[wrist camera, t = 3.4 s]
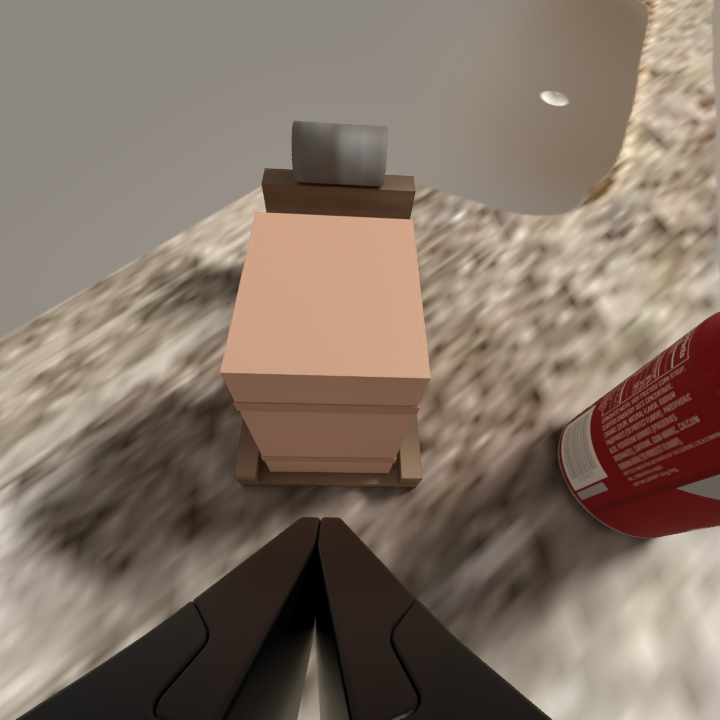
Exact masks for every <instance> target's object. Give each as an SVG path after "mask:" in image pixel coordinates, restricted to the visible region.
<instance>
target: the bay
mask: <svg viewBox="0 0 720 720" xmlns="http://www.w3.org/2000/svg"><path fill="white" fill-rule="evenodd" d="M387 135H388V134H387V127H385V126H368V125H352V124H334V123H318V122H301V121H294V122H293V126H292V165H293V170H287V169H269V168H265V170H264V175H263V180H262V189H263V195H264V200H265V206H266V212H267V213H285V214H306V215H326V216H347V217H368V218H389V219H410V216H411V211H412V206H413V201H414V196H415V184H414V177H413V176H399V175H385V170H386V160H387V139H388V136H387ZM234 477H235V478H236V479H237V480H238V481H239V483H240V484H241V485H265V486H342V487H416V486H417V485H418V484H419V482H420V481H421V480H422V468H421V456H420V445H419V433H418V422H417V415H414V417H413V419H412V422H411V424H410V426H409V428H408V431H407V433H406V435H405V437H404V440H403V442H402V444H401V446H400V449H399V451H398V453H397V455H396V461H395V463H393V465H392V467H391V469H390V471H389V473H339V472H271V471H270V470H269V468H268V466H267V464H266V462H265V461H263V460H262V458H261V452H260V450H259V448H258V447H257V445H256V443H255V441H254V439H253V437H252V435H251V433H250V431H249V429H248V427H247V425H246V423H245V421H244V419H243V425H242V431H241V437H240V442H239V448H238V454H237V460H236V466H235V472H234Z"/></svg>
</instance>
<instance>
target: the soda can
mask: <svg viewBox="0 0 720 720" xmlns="http://www.w3.org/2000/svg"><path fill="white" fill-rule="evenodd" d="M558 462H559V467H560V470H561V473H562V476H563V478H564V481H565V483H566V485H567V487H568V488H569V490H570V492H571V493H572V495H573V496H574V497H575V499H576V500H577V501H578V503H579V504H580V505H581V506H582V507H583V508H584V509H585V510H586V511H587V512H588V513H589V514H590V515H591V516H593V517H594V518H595V519H596V520H598V521H599V522H601V523H602V524H603V525H605V526H607V527H609V528H610V529H612V530H615V531H617V532H619V533H622V534H625V535H628V536H632V537H637V538H656V537H662V536H667V535H673V534H678V533H683V532H689V531H694V530H700V529H705V528H710V527H716V526H720V312H718V313H715V314H714V315H712V316H711V317H709V318H707V319H706V320H705V321H703V322H702V323H701V324H699V325H698V326H697V327H695V328H694V329H693V330H691V331H690V332H689V333H687V334H686V335H685V336H683V337H682V338H681V339H679V340H678V341H677V342H675V343H674V344H673V345H671V346H670V347H669V348H667V349H666V350H665V351H663V352H662V353H661V354H659V355H658V356H657V357H655V358H654V359H653V360H651V361H650V362H649V363H647V364H646V365H644V366H643V367H642V368H640V369H639V370H638V371H636V372H635V373H634V374H632V375H631V376H630V377H628V378H627V379H626V380H624V381H623V382H622V383H620V384H619V385H618V386H616V387H615V388H614V389H612V390H611V391H610V392H608V393H607V394H606V395H604V396H603V397H602V398H600V399H599V400H598V401H596V402H595V403H594V404H592V405H591V406H590V407H588V408H587V409H586V410H584V411H583V412H582V413H580V414H579V415H577V416H576V417H575V418H573V419H572V420H571V421H570V422H569V423H568V424H567V425H566V426H565V428H564V429H563V431H562V433H561V436H560V438H559V443H558Z"/></svg>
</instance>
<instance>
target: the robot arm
mask: <svg viewBox="0 0 720 720" xmlns="http://www.w3.org/2000/svg"><path fill="white" fill-rule="evenodd" d="M315 620H316V653H317V670H318V687H319V704H320V720H552V719H551V718H550V717H548V716H547V715H546V714H545V713H544V712H542V711H541V710H540V709H539V708H538V707H537V706H535V705H534V704H533V703H532V702H531V701H529V700H528V699H527V698H526V697H525V696H524V695H522V694H521V693H520V692H519V691H518V690H516V689H515V688H514V687H513V686H512V685H510V684H509V683H508V682H507V681H506V680H505V679H503V678H502V677H501V676H500V675H499V674H497V673H496V672H495V671H494V670H493V669H492V668H490V667H489V666H488V665H487V664H486V663H484V662H483V661H482V660H481V659H480V658H479V657H478V656H476V655H475V654H474V653H473V652H472V651H471V650H470V649H468V648H467V647H466V646H465V645H464V644H463V643H462V642H461V641H459V640H458V639H457V638H456V637H455V636H454V635H453V634H452V633H451V632H450V631H449V630H448V629H447V628H446V627H445V626H444V625H443V624H442V623H441V622H440V621H439V620H438V619H437V618H436V617H435V616H433V615H432V614H431V612H430V611H429V610H428V609H427V608H426V607H425V606H424V605H423V604H422V603H421V602H420V601H417V599H416V598H415V597H414V596H413V595H412V593H411V592H410V591H409V590H408V589H407V588H406V587H405V586H404V585H403V584H402V583H401V582H400V581H399V580H398V579H397V578H396V577H395V576H394V574H393V573H392V572H391V571H390V570H389V569H388V568H387V567H386V566H385V565H384V564H383V563H382V562H381V561H380V560H379V559H378V558H377V557H376V555H375V554H374V553H373V552H372V551H371V550H370V549H369V548H368V547H367V546H366V545H365V544H364V543H363V542H362V541H361V540H360V539H359V537H358V536H357V535H356V534H355V533H354V532H353V531H352V530H351V529H350V528H349V527H348V526H347V525H346V524H345V523H344V522H343V521H342V520H341V519H340V518H329V517H324V518H322V519H321V522H320V519H319V518H317V517H302V518H300V519H299V520H297V521H296V522H295V523H294V524H292V525H291V526H290V527H288V528H287V529H286V530H284V531H283V532H282V533H280V534H279V535H278V536H276V537H275V538H274V539H273V540H271V541H270V542H269V543H267V544H266V545H265V546H263V547H262V548H261V549H259V550H258V551H257V552H256V553H254V554H253V555H252V556H250V557H249V558H248V559H246V560H245V561H244V562H242V563H241V564H240V565H239V566H237V567H236V568H235V569H233V570H232V571H231V572H229V573H228V574H227V575H225V576H224V577H223V578H222V579H220V580H219V581H218V582H216V583H215V584H214V585H212V586H211V587H210V588H208V589H207V590H206V591H205V592H203V593H202V594H201V595H199V596H198V597H197V598H195V599H194V600H193V602H189V603H188V604H186V605H185V606H184V607H182V608H181V609H180V610H178V611H177V612H176V613H174V614H173V615H172V616H170V617H169V618H168V619H166V620H165V621H163V622H162V623H161V624H159V625H158V626H157V627H155V628H154V629H152V630H151V631H150V632H148V633H147V634H146V635H144V636H143V637H141V638H140V639H138V640H137V641H135V642H134V643H132V644H131V645H129V646H128V647H126V648H125V649H123V650H122V651H120V652H119V653H117V654H116V655H114V656H113V657H111V658H110V659H108V660H107V661H105V662H104V663H102V664H101V665H99V666H98V667H96V668H95V669H93V670H92V671H90V672H89V673H87V674H85V675H84V676H82V677H81V678H79V679H78V680H76V681H75V682H73V683H72V684H70V685H68V686H67V687H65V688H64V689H62V690H61V691H59V692H58V693H56V694H54V695H53V696H51V697H50V698H48V699H47V700H45V701H44V702H42V703H41V704H39V705H37V706H36V707H34V708H33V709H31V710H30V711H28V712H27V713H25V714H23V715H22V716H20V717H19V718H17V719H16V720H297V717H298V712H299V707H300V702H301V697H302V692H303V687H304V682H305V677H306V672H307V667H308V662H309V657H310V652H311V647H312V642H313V636H314V630H315Z"/></svg>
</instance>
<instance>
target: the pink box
mask: <svg viewBox="0 0 720 720" xmlns="http://www.w3.org/2000/svg"><path fill="white" fill-rule="evenodd" d="M220 373H221V375H222V377H223V379H224V381H225V383H226V385H227V387H228V389H229V391H230V393H231V395H232V397H233V399H234V401H233V404H234V406H235V408H236V410H237V411H240V413H241V415H242V417H243V419H244V421H245V423H246V425H247V427H248V429H249V431H250V433H251V435H252V437H253V439H254V441H255V443H256V445H257V447H258V448H259V450H260V452H261V458H262V460H263V461H265V462H266V464H267V466H268V468H269V470H270V471H271V472H339V473H389V471H390V469H391V467H392V465H393V463H395V461H396V455H397V453H398V451H399V449H400V446H401V444H402V442H403V440H404V437H405V435H406V433H407V431H408V428H409V426H410V424H411V422H412V419H413V417H414V415H417V413H418V411H419V408H420V401H421V399H422V397H423V394H424V392H425V390H426V388H427V385H428V383H429V381H430V379H431V378H430V369H429V360H428V351H427V342H426V333H425V324H424V315H423V307H422V298H421V289H420V280H419V271H418V262H417V253H416V244H415V235H414V226H413V220H410V219H389V218H368V217H347V216H326V215H306V214H285V213H264V212H255V216H254V221H253V226H252V230H251V235H250V239H249V244H248V248H247V253H246V257H245V262H244V266H243V271H242V275H241V280H240V284H239V289H238V294H237V298H236V303H235V307H234V312H233V316H232V321H231V325H230V330H229V334H228V339H227V343H226V348H225V352H224V357H223V362H222V366H221V371H220Z"/></svg>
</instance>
